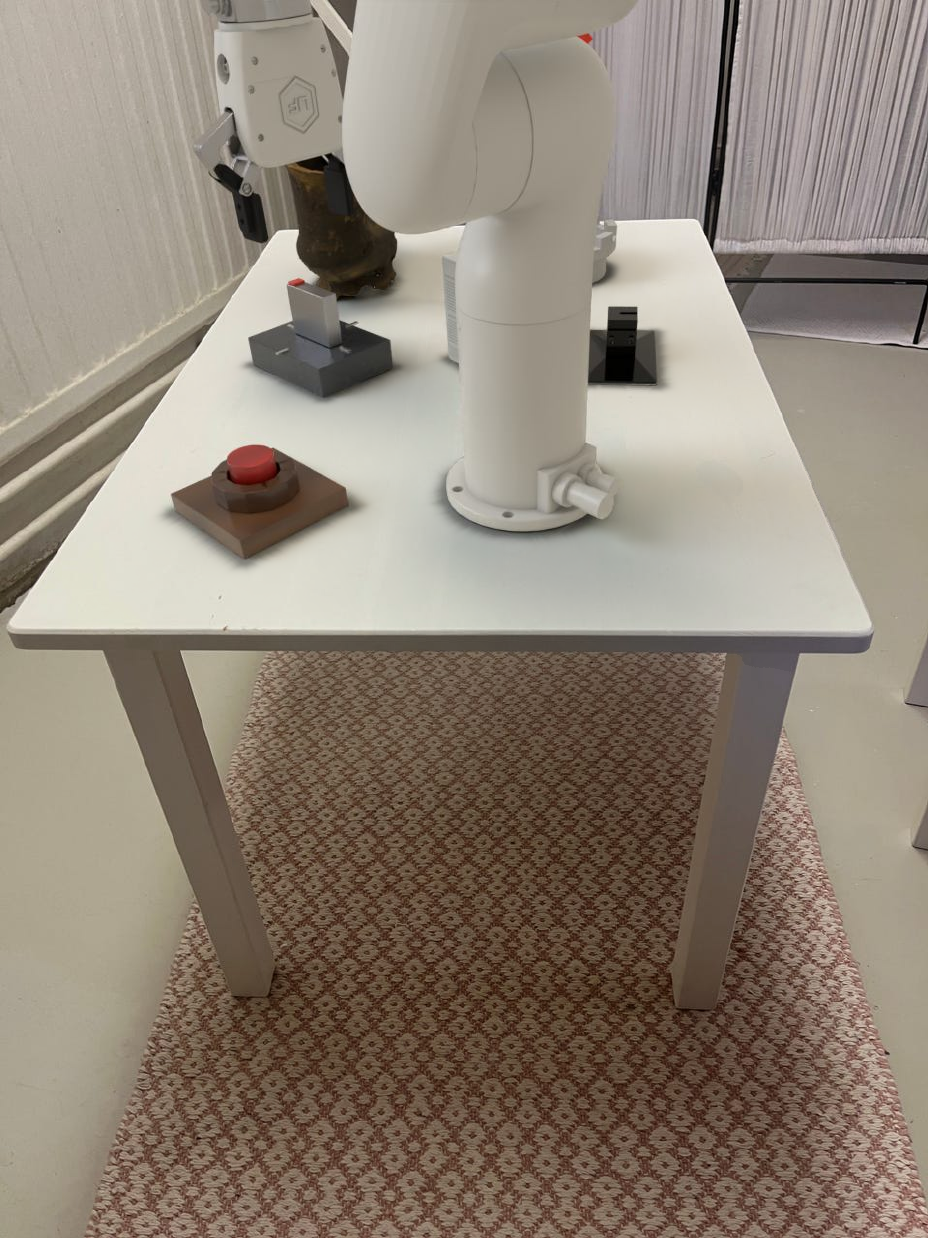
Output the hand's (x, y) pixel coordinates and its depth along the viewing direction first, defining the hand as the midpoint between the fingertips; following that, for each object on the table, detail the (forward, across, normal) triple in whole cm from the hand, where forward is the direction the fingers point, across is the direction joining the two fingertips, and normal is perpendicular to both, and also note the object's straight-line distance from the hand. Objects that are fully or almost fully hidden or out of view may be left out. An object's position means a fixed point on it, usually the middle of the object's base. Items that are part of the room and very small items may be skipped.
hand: (300, 226), depth 85 cm
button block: (+15, -19, -16) cm, 29 cm away
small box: (+15, +14, -10) cm, 23 cm away
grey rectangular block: (+11, +1, +2) cm, 11 cm away
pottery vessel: (+14, +19, +18) cm, 30 cm away
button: (+12, -19, -16) cm, 28 cm away
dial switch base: (+14, +1, +2) cm, 14 cm away
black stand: (+15, +22, -20) cm, 33 cm away
